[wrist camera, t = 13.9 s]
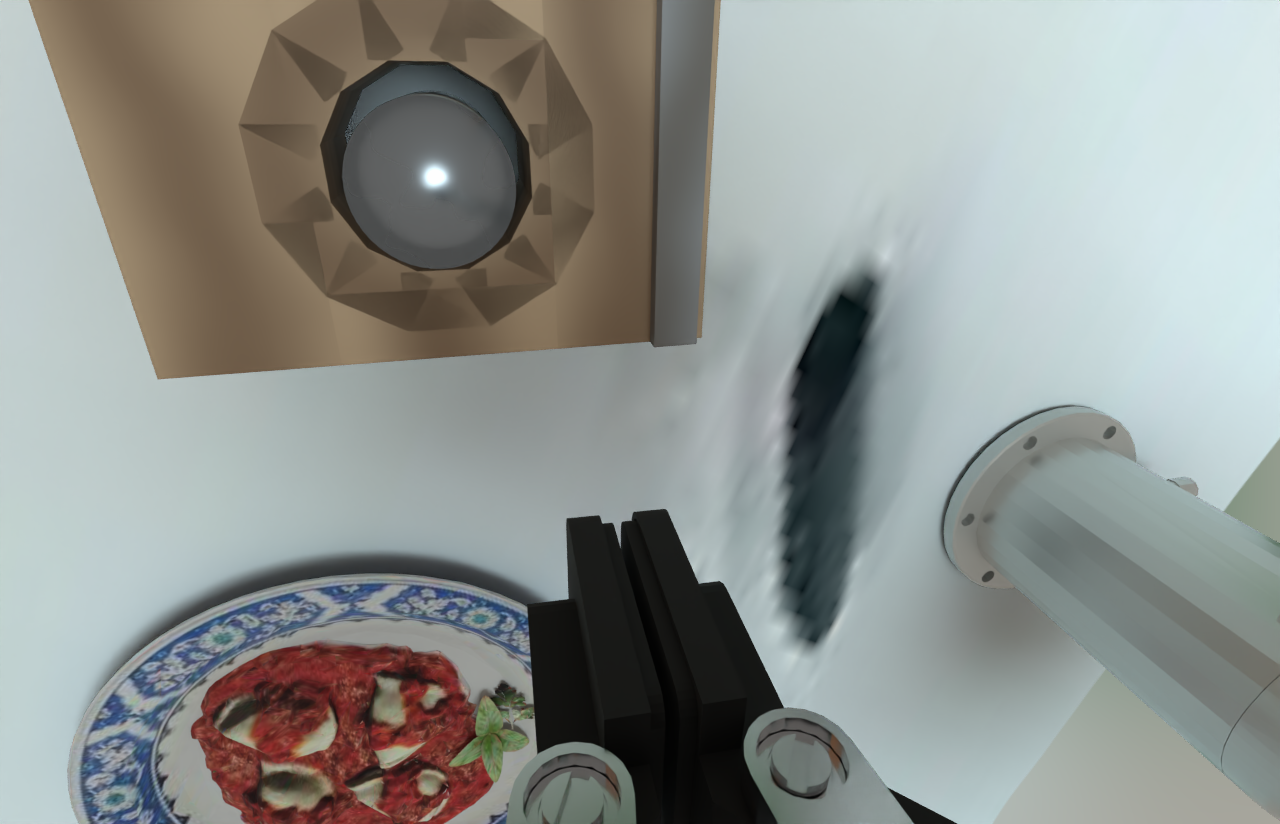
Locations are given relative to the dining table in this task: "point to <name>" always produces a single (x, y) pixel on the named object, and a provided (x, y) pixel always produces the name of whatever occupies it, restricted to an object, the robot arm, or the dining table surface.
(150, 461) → the dining table surface
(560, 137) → the block
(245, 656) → the ceramic plate
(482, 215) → the grey cylinder
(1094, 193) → the dining table surface
